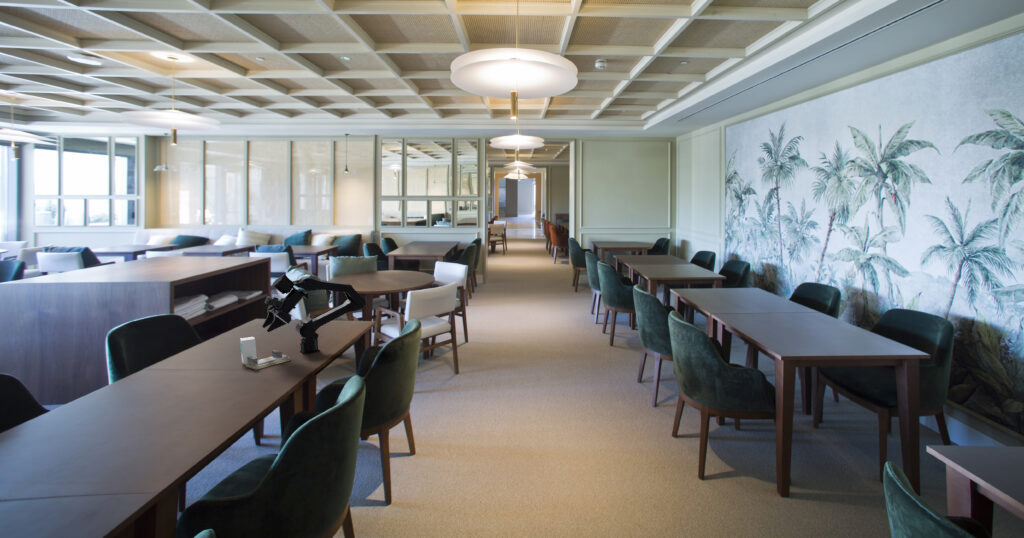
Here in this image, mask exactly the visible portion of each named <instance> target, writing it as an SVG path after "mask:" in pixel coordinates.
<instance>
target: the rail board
mask: <svg viewBox="0 0 1024 538" xmlns="http://www.w3.org/2000/svg"><path fill="white" fill-rule="evenodd" d="M271 355H272V356H269V357H265V358H261V359H258V357H257V358H255V357H252V356H249V357H247V362H248V363H246V364H245V367H246V368H250V369H253V370H261V369H265V368H267V367H272V366H275V365H278V364H281V363H285V362H289V361H291V356H289V355H286V354H283V351H281V350H276V349H274V350H272V351H271Z"/></svg>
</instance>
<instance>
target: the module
mask: <svg viewBox="0 0 1024 538" xmlns="http://www.w3.org/2000/svg"><path fill="white" fill-rule="evenodd" d="M239 349H240V351H239V352H240V356H241V363H242V365H246V363H248V362H247V357H249V356H252V357H255V358H257V359H258V357H257V346H256V338H255V336H248V337H240V338H239Z"/></svg>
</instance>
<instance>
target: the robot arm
mask: <svg viewBox="0 0 1024 538" xmlns="http://www.w3.org/2000/svg"><path fill="white" fill-rule="evenodd" d="M271 284H272V285H271V286H272V287H273V288H274V289H275V290H277V291H278V292H279V293H281V294H282V295H285V294H286V296H285V297H281V298H280V299H279V297H275V296H273V297H272V296H268V295H267V296H266V298H265V300H264V304H265V305H266V306H268V307H267V310H266V312H267V316H266V318H265V320H264V322H263V324H262V326H261V327H262V328H263V329H265V328H267V327H268V328H267V329H266V332H267V333H271V332H272V331H275V330H276V329H278V328H281V327H283V326H285V325H287V324H290V322H292V316H290V313H291V312H292V311H293V310H296V309H297V307H296V306H297V305H298V304H299V303H300V302H301V300H302V299H303V298H304V299H306V300H309V299H310V298H309V291H310V292H313V291H320V290H321V291H331V292H340V293H341V292H342V293H344V295H345V297H346V298H347V299H346V300H345V301H344V302H343V304H341V305H339V306H337V307H335V308H333V309H330V310H329V311H327V312H325V313H323V314H321V315H319V316H317V317H315V318H311V317H309V316H307V317H305V318H303V319H301V320H299V322H298V323H296V325H295V332H296V333H297V334H298V335H300V337H301V339H300V350H299V353H301V354H305V355H309V354H313V353H318V352H320V351H321V349H320V348H319V343H318V342H319V341H318V340H319V333H317V331H318V330H319V329H320V328H321V327H322V326H324V325H326V324H328V323H330V322H332V321H334V320H336V319H338V318H341V317H342V316H344V315H346V314H349V313H351V312H356V311H359V310H360V311H361V310H362V309H364V308H365V306H366V304H367V302H366V299H365V298H364V297H362V296H361V295H360V294H359V292H357V291H356V289H355V288H354V287H353V285H352V284H349V283H341V282H332V281H331V282H330V281H324V280H323V281H322V280H318V279H316V278H313V277H308V276H302V277H300V278H299V279H296V280H291V279H290V278H288V276H287V275H286V274H281V276H279V277H278V278H276V279H275V280H274V281H273V283H271ZM297 288H298V289H297ZM305 291H306V292H305Z"/></svg>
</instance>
